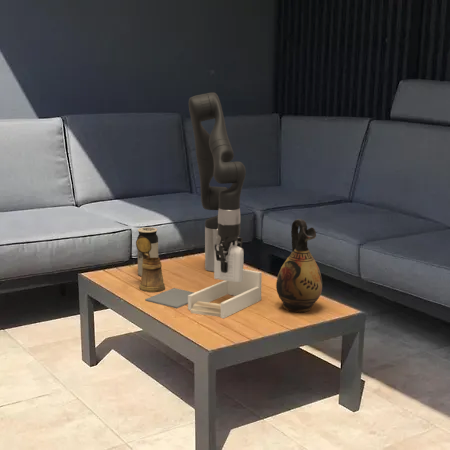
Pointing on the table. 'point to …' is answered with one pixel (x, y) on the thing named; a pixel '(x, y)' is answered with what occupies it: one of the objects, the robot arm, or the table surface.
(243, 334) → the table surface
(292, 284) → the ceramic jug
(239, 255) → the photo printer
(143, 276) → the wooden mug
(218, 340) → the table surface
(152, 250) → the travel mug
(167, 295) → the mat
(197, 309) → the offcut stack
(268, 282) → the table surface
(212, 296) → the rack
